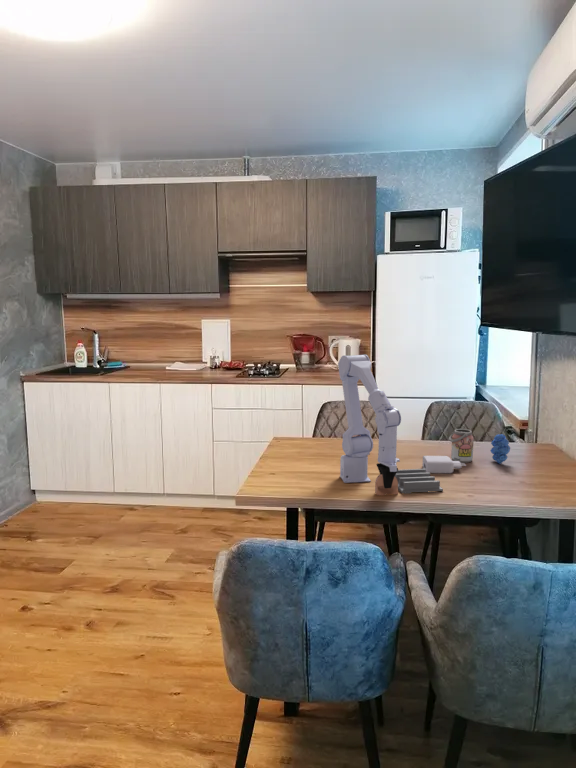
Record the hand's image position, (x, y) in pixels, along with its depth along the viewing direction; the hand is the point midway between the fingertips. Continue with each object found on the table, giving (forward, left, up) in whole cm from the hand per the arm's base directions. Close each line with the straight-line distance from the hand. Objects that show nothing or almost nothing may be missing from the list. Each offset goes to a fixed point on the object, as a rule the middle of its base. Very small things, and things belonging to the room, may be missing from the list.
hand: (386, 486), depth 180 cm
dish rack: (+12, +7, -2) cm, 14 cm away
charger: (+29, +23, -3) cm, 37 cm away
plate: (0, 0, -2) cm, 2 cm away
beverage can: (+40, +34, -3) cm, 53 cm away
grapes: (+54, +28, -3) cm, 61 cm away
